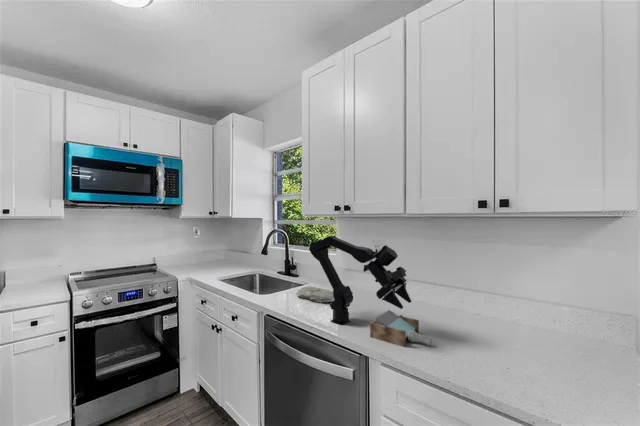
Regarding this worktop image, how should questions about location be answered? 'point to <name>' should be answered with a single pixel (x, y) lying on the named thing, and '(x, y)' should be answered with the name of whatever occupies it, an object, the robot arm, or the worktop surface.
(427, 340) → the rook chess piece
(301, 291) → the fossil stone
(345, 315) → the robot arm
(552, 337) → the worktop surface
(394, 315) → the trapdoor flap
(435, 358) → the worktop surface
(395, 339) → the walnut stand
